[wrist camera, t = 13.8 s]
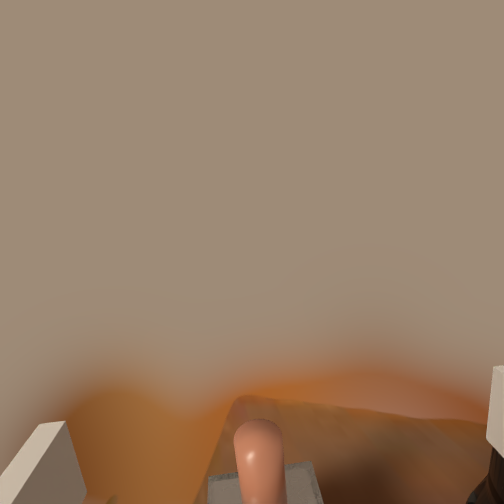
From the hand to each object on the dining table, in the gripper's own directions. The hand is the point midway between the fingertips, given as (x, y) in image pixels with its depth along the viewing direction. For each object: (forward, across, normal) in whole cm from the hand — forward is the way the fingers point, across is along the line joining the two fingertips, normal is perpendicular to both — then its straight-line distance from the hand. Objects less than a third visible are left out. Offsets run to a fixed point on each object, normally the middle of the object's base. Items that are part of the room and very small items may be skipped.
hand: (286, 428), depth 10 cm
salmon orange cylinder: (+12, -1, -36) cm, 38 cm away
